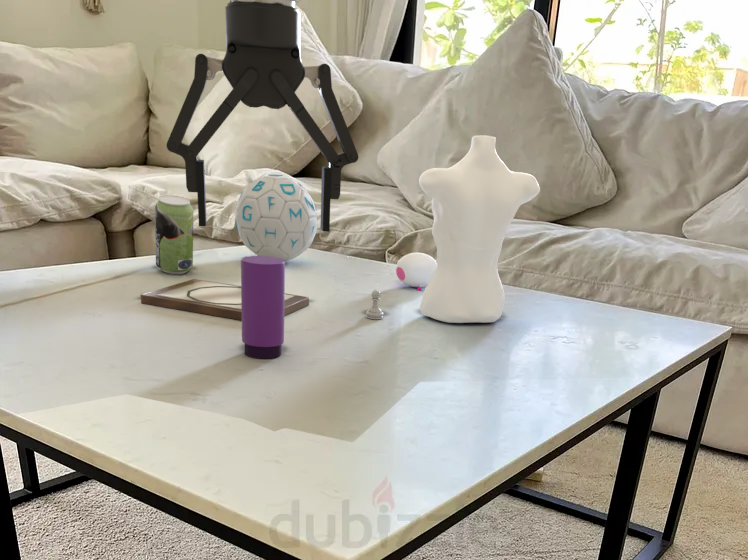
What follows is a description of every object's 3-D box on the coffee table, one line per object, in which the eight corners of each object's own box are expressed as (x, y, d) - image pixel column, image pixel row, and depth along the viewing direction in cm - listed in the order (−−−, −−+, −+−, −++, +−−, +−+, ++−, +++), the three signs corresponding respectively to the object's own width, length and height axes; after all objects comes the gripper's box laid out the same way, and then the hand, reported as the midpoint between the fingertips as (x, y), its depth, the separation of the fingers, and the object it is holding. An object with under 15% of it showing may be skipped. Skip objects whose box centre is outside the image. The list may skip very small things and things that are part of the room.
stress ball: (429, 303, 139) (428, 267, 140) (445, 285, 132) (443, 248, 132) (389, 301, 137) (387, 264, 138) (402, 283, 130) (400, 244, 130)
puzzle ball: (332, 263, 149) (335, 178, 142) (276, 272, 138) (276, 180, 131) (275, 250, 157) (276, 169, 150) (218, 257, 146) (215, 170, 139)
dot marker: (234, 355, 93) (232, 260, 88) (254, 345, 97) (254, 254, 92) (271, 362, 92) (272, 266, 87) (290, 351, 96) (292, 259, 91)
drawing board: (140, 303, 112) (140, 293, 111) (194, 286, 124) (194, 277, 123) (265, 324, 106) (265, 314, 106) (309, 305, 118) (309, 295, 118)
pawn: (372, 320, 113) (374, 292, 111) (362, 316, 114) (363, 288, 113) (386, 318, 114) (388, 291, 112) (376, 314, 116) (378, 287, 114)
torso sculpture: (500, 309, 125) (525, 136, 113) (529, 325, 117) (558, 141, 105) (394, 309, 119) (408, 128, 108) (416, 326, 111) (433, 132, 100)
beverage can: (181, 267, 136) (178, 193, 130) (203, 275, 131) (201, 199, 126) (148, 269, 132) (143, 193, 126) (170, 278, 127) (166, 200, 122)
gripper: (128, -13, 72) (146, 227, 82) (392, 11, 77) (379, 237, 87) (137, -5, 79) (152, 217, 89) (379, 18, 83) (368, 226, 93)
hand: (264, 227), depth 88 cm, fingers open, 13 cm apart
